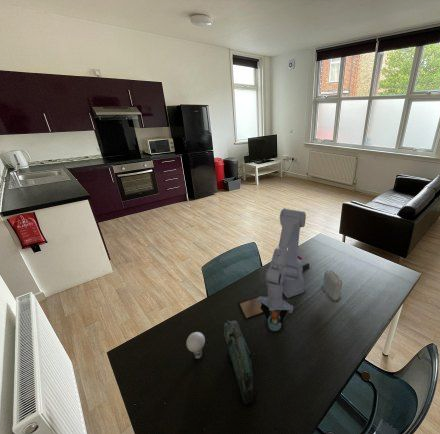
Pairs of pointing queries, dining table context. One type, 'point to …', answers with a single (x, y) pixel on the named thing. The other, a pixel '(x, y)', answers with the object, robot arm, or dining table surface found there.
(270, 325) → the teal ring
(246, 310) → the coaster
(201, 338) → the lightbulb
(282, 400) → the dining table surface
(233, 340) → the dark teal slab
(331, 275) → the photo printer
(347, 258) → the dining table surface
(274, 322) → the marker
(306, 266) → the calculator
